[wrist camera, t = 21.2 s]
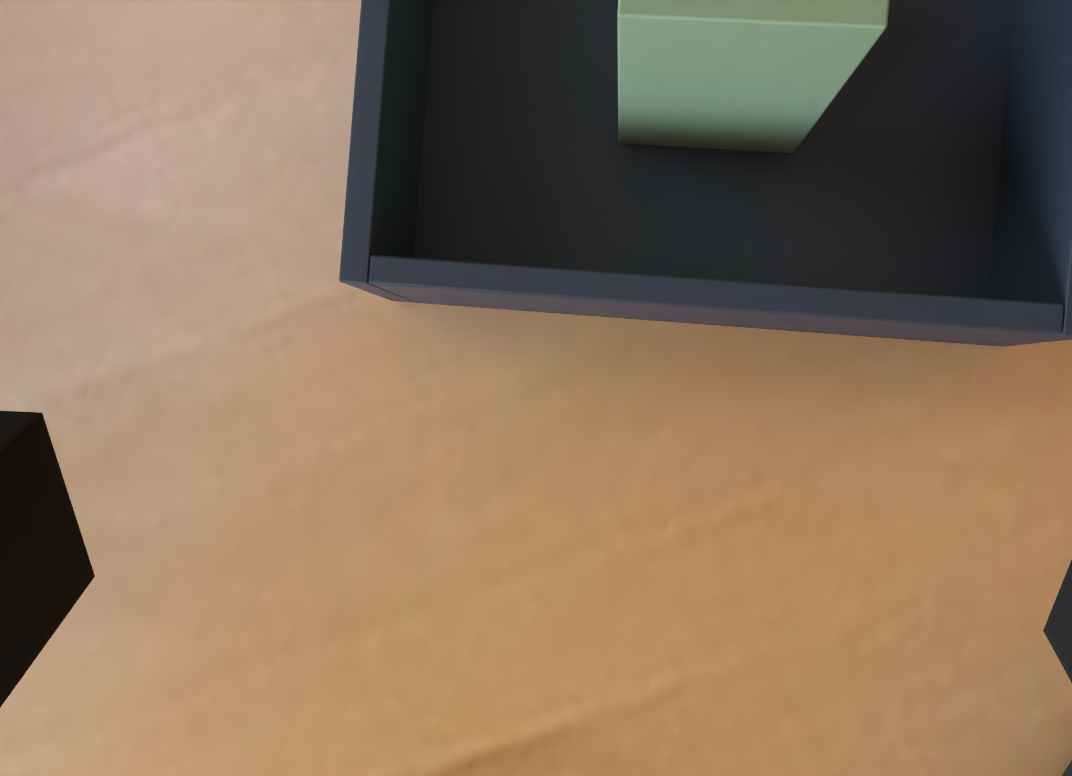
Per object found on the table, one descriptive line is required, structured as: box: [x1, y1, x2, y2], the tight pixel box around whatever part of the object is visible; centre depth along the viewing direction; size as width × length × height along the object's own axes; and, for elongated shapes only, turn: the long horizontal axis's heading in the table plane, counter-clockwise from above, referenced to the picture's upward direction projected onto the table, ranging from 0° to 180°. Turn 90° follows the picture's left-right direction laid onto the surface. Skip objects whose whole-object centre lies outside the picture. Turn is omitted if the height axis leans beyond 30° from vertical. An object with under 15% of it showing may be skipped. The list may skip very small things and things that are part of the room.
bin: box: [339, 0, 1072, 346], centre depth 26 cm, size 20×17×6 cm
